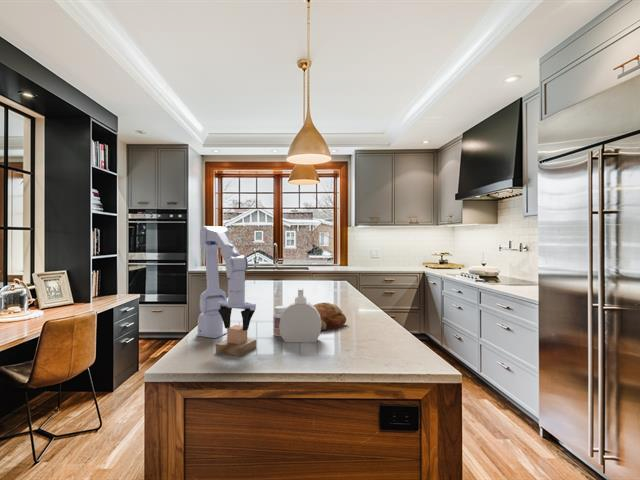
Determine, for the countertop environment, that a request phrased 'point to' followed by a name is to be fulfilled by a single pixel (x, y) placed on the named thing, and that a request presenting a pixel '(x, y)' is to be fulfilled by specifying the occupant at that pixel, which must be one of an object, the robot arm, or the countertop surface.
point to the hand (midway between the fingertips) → (236, 328)
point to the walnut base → (235, 347)
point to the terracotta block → (236, 334)
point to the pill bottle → (278, 319)
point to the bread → (330, 316)
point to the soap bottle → (300, 321)
